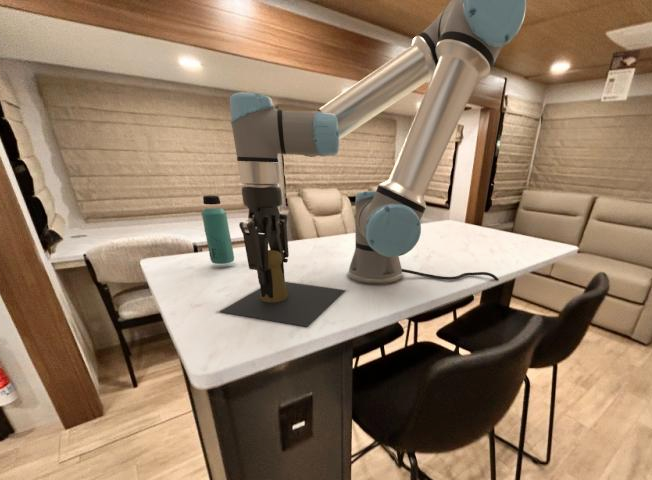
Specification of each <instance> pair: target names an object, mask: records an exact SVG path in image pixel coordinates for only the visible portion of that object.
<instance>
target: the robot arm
mask: <svg viewBox="0 0 652 480" xmlns="http://www.w3.org/2000/svg"><path fill="white" fill-rule="evenodd" d="M526 9H527V0H450V2H449V3H448V4H447V5H446V6H445V7H444V9H442V11H441V12H440V13H439V14H438V15H437V17H436V18H435V19H434V20H433V21H432V23H430V24H429V26H427V27H426V28H425V29H424V30H422V32H420V33H418V34H417V35H416V36H414V38H412V42H411V46H409V47H408V48H406V49H405V50H403V51H402V52H400V53H399V54H397V55H396V56H395V57H393V58H392V59H390V60H389V61H387V62H386V63H384V64H383V65H381V66H380V67H378V68H377V69H375V70H374V71H373V72H371V73H369V74H368V75H367V76H364V78H362V79H361V80H359V81H358V82H356V83H354V85H352V86H350V87H349V88H348V89H346V90H344V91H343V92H341V93H340V94H339V95H337V96H335V97H334V98H333V99H331V100H330V101H328V102H326V103H325V104H324V105H323V106H320V108H318V109H317V110H315V111H303V110H287V109H284V110H283V109H278V108H275V106H274V103H273V99H272V98H271V97H270V96H268V95H266V94H261V93H255V92H243V91H242V92H241V91H240V92H235V93H233V94H232V95H231V96H230V97H229V108H230V119H231V120H230V124H231V129H232V134H233V141H234V147H235V155H236V160H237V161H236V162H237V166H238V173H239V181H240V184H242V185H244V186H241V188H240V189H241V197H242V202H243V205H244V206H245V207H247V208H248V215H247V218H248V219H247V220H246V221H239V224H238V225H239V229H240V231H241V233H242V236H243V240H244V247H245V252H246V258H247V265H248V269H249V270H253V271H256V272H257V278H258V279H257V280H258V284H259V287H260V288H261V295H262V297H264V296H265V295H266V294H267V295H268V296H269V298H273V283H272V274H271V269H268V250H276V251H278V252H280V254H281V255H282V263H281V265H280V266H281V270H282V274H283V278H284V282H286V280H285V279H286V278H285V266H284V263H288V261H289V259H288V258H289V256H290V254H289V240H288V227H287V224H288V214H284V213H280V210H279V207H281V206H282V205H283V197H282V196H283V195H282V188H281V187H280V186H279V185H280V184H281V173H280V163H279V154H281V155H298V156H299V155H300V156H305V157H309V158H315V157H318V156H320V157H329V156H331V157H333V156H336V155H337V154H338V153H339V150H340V148H339V147H340V140H341V139H343V138H345V137H346V136H347V135H349V134H350V133H352V132H353V131H355V130H357V129H358V128H359V127H361V126H362V125H364V124H365V123H367V122H369V121H371V120H372V119H373V118H374V117H377V116H378V115H379V114H380V113H382V112H384V111H385V110H386V109H388V108H389V107H391V106H393V105H394V104H395V103H397V102H399V101H400V100H401V99H403V98H405V97H406V96H408V95H409V94H411V93H412V92H414V91H415V90H417V89H418V88H420V87H421V86H423V85H424V84H426V83H427V84H428V85H427V87H426V89H425V92H424V94H423V96H422V100H421V101H420V104H419V106H418V108H417V111H416V114H415V116H414V118H413V120H412V123H411V124H410V127H409V130H408V133H407V135H406V137H405V139H404V142H403V144H402V147H401V149H400V151H399V154H398V156H397V159H396V160H395V163H394V165H393V168H392V171H391V172H390V175H389V178H388V179H386V180H385V181H383V182H380V183H378V185H377V188H376V190H369V191H368V190H367V191H359V192H357V193H356V195H355V202H354V206H355V248H354V252H353V255H352V259H351V262H350V265H349V268H348V276H349V278H350V279H352V281H355V282H358V283H362V284H368V285H387V284H392V283H396V282H398V281H400V280H401V279H402V277H403V273H407V274H410V275H411V274H412V275H415V276H416V275H417V276H421V277H426V278H432V279H437V280H445V281H446V280H447V281H455V280H459V279H462V278H464V277H468V276H488V277H491V278H493V279H494V280H495V281H500V279H499V278H498V276H497V275H495V274H494V273H491V272H487V271H476V272H475V271H474V272H464V273H461V274H459V275H456V276H442V275H435V274H431V273H425V272H419V271H415V270H410V269H404V268H402V263H401V260H400V257H402V256H404V255H406V254H408V253H409V252H410V251H412V250H413V249H414V248H415V247H416V245H417V244H418V242H419V240H420V238H421V233H422V226H421V225H422V224H421V220H422V217H423V215H424V213H425V211H426V208H427V204H426V199H425V195H426V193H427V191H428V188H429V186H430V184H431V182H432V179H433V177H434V175H435V173H436V171H437V169H438V166H439V165H440V163H441V160H442V158H443V156H444V153H445V151H446V150H447V147H448V145H449V143H450V141H451V139H452V137H453V134H454V132H455V130H456V129H457V126H458V123H459V121H460V119H461V117H462V115H463V113H464V111H465V108H466V106H467V104H468V102H469V100H470V98H471V95H472V94H473V91H474V89H475V87H476V85H477V83H478V82H480V81H482V80H484V79H486V78H487V77H488V76H489V75H490V73H491V71H492V68H494V67H493V66H494V65H495V62H496V60H497V58H498V56H499V54H500V52H501V50H502V48H503V47H504V46H506V45H507V44H509V43H511V41H512V40H513V39H514V37H516V36H517V34H518V33H519V31H520V30H521V28H522V25H523V23H524V20H525V16H526V12H527V11H526ZM262 264H263V265H262ZM260 288H259V289H260Z"/></svg>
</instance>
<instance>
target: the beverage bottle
mask: <svg viewBox="0 0 652 480" xmlns="http://www.w3.org/2000/svg"><path fill="white" fill-rule="evenodd" d="M202 201H203V205H221V200H220V196H219V195H209V194H208V195H203V196H202ZM200 214H201V217H202V222H203V229H204V233H205V238H206V244H207V248H208V254H209V259H210V262H211V263H212V264H214V265H215V264H216V265H223V264H231V263H232V262H234V261H235V255H234V249H233V242H232V238H231V234H230V228H229V221H228V215H227V211H226V210H225V209H223V208H220V207H207V208H206V207H205V208H204V209H203V210H202V211H201V213H200Z"/></svg>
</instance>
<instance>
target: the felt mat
mask: <svg viewBox="0 0 652 480" xmlns="http://www.w3.org/2000/svg"><path fill="white" fill-rule="evenodd" d="M285 286H286V290H287V294H288V298H287V299H285V300H283V301H280V302H273V303H270V302H264V301H262V300H261V288H258V289H257V290H255V291H253V292H251V293H249V294H248V295H246V296H244V297H243V298H241V299H239V300H237V301H235V302H234V303H232V304H230V305H228V306H227V307H225V308H223V309H221V310H220V311H219V313H222V314H229V315H235V316H239V317H245V318H251V319H256V320H257V319H258V320H263V321H269V322H273V323H274V322H275V323H280V324H285V325H291V326H298V327H303V328H308V327H309V326H310V325H311V324H312V323H313V322H314V321H315V320H316V319H317V318H318V317H320V316H321V314H323V312H325V310H326V309H328V308H329V307H330V306H331V305H332V304H333V303H334V302H335V301H336V300H337V299H338V298H339V297H340V296H341V295H342V294H343V293H344V292H345V289H339V288H331V287H325V286H324V287H323V286H316V285H309V284H302V283H296V282H295V283H294V282H289V281H285Z"/></svg>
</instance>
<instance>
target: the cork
mask: <svg viewBox="0 0 652 480" xmlns="http://www.w3.org/2000/svg"><path fill="white" fill-rule="evenodd" d="M281 263H282V255H281V254H280V252H278V251H276V250H270V249H268V269H271V274H272V283H273V298H269V296H268V295H267V294H266V295H265V296H264V297H262V295H261V300H262V301H264V302H270V303H273V302H280V301H283V300H285V299H287V298H288V294H287V290H286V286H285V282H286V281H285V282H284V278H283V274H282V270H281V266H280V265H281ZM262 265H263V264H262Z"/></svg>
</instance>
